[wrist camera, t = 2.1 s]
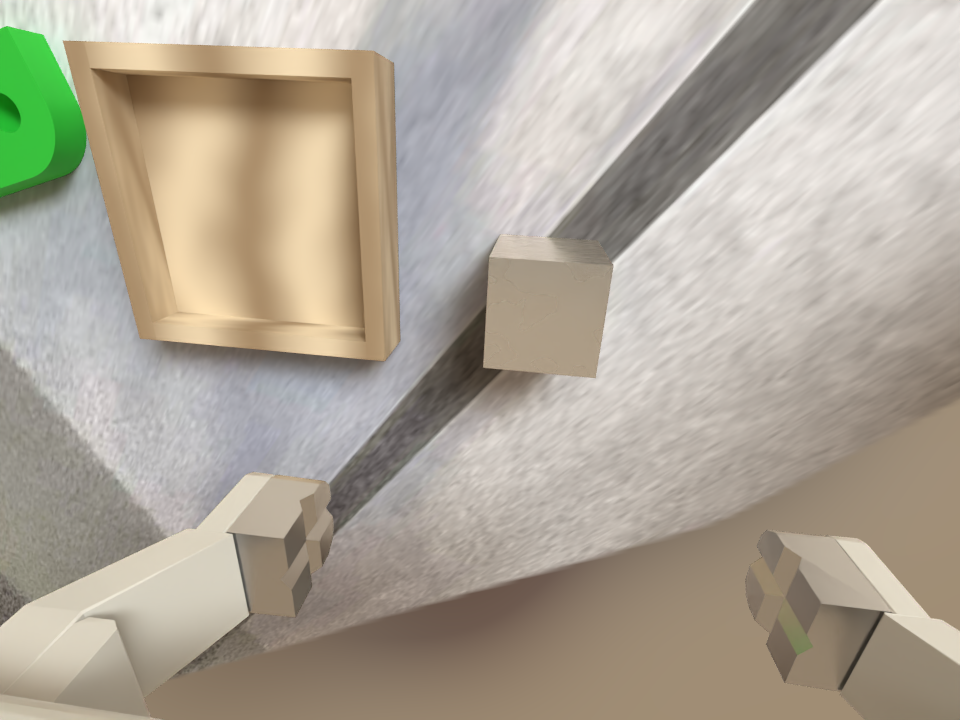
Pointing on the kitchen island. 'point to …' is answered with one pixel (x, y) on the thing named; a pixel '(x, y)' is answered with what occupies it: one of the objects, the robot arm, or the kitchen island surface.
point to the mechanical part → (35, 114)
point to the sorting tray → (249, 192)
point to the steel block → (546, 305)
